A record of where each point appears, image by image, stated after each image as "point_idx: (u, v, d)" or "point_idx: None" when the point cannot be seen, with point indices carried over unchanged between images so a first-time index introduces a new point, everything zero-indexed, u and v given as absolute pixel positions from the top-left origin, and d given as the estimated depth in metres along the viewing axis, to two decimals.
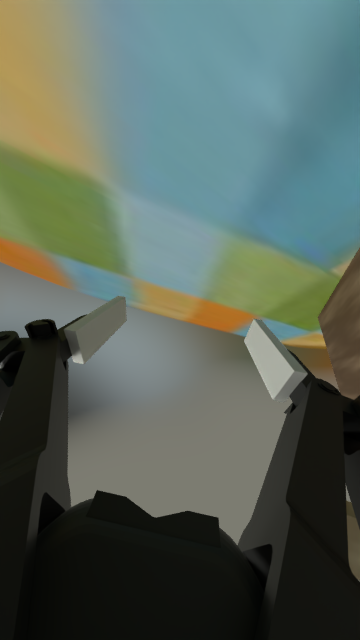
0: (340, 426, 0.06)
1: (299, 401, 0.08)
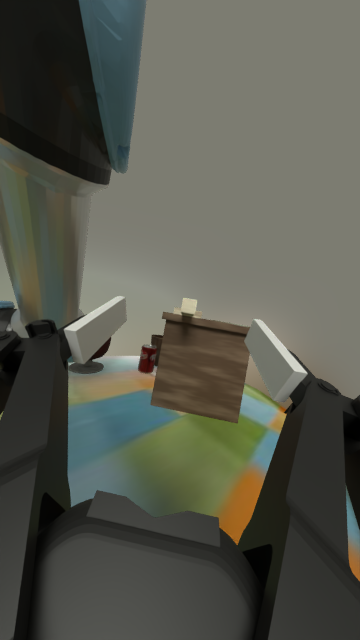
0: (340, 426, 0.06)
1: (299, 401, 0.08)
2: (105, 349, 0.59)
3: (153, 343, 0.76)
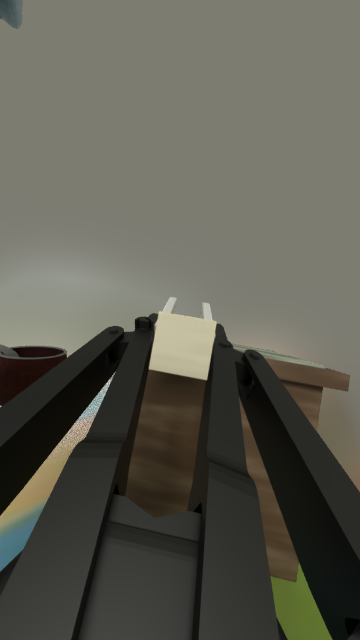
0: (234, 369, 0.08)
1: (211, 361, 0.10)
2: None
3: None
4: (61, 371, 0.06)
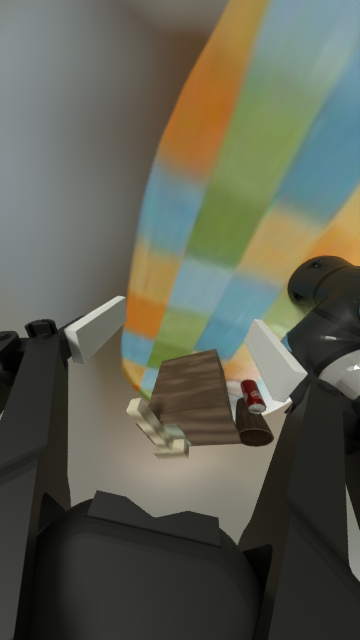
0: (340, 426, 0.06)
1: (299, 401, 0.08)
2: None
3: (261, 420, 0.61)
4: None
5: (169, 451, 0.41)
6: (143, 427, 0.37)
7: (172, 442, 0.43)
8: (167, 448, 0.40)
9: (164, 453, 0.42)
